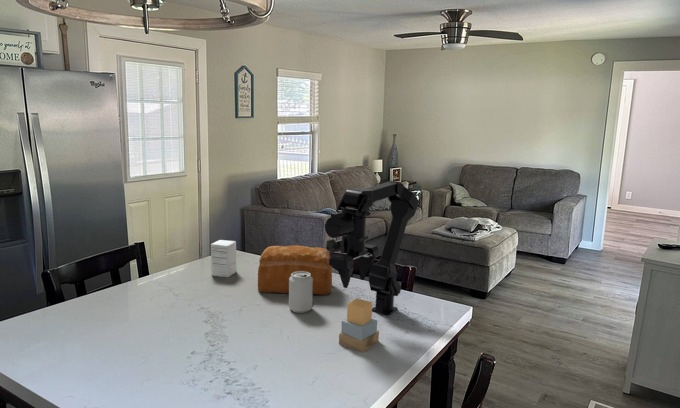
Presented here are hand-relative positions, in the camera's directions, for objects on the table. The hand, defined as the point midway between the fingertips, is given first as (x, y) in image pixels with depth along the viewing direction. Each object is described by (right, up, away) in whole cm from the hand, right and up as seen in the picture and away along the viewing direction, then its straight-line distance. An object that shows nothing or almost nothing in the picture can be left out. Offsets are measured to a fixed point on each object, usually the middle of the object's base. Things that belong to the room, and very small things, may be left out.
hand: (353, 283), depth 147 cm
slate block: (+1, -12, -10) cm, 16 cm away
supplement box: (-49, -4, +47) cm, 68 cm away
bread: (-20, -7, +33) cm, 39 cm away
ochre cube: (+1, -8, -10) cm, 13 cm away
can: (-17, -11, +13) cm, 24 cm away
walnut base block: (+1, -15, -9) cm, 18 cm away
